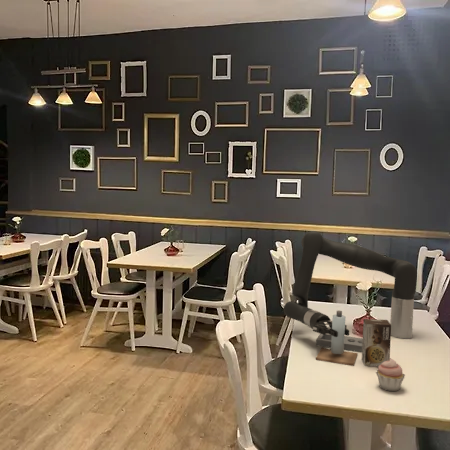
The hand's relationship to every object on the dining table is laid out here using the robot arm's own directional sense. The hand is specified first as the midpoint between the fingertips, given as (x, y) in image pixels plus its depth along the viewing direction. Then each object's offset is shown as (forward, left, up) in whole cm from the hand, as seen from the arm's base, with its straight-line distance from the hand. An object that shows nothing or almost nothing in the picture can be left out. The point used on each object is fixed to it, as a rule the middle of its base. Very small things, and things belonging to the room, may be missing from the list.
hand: (342, 333), depth 180 cm
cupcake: (-18, +18, -10) cm, 28 cm away
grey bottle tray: (+1, -17, -10) cm, 20 cm away
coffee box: (-12, -2, -10) cm, 16 cm away
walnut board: (+2, -2, -10) cm, 11 cm away
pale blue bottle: (+2, -2, -8) cm, 8 cm away
